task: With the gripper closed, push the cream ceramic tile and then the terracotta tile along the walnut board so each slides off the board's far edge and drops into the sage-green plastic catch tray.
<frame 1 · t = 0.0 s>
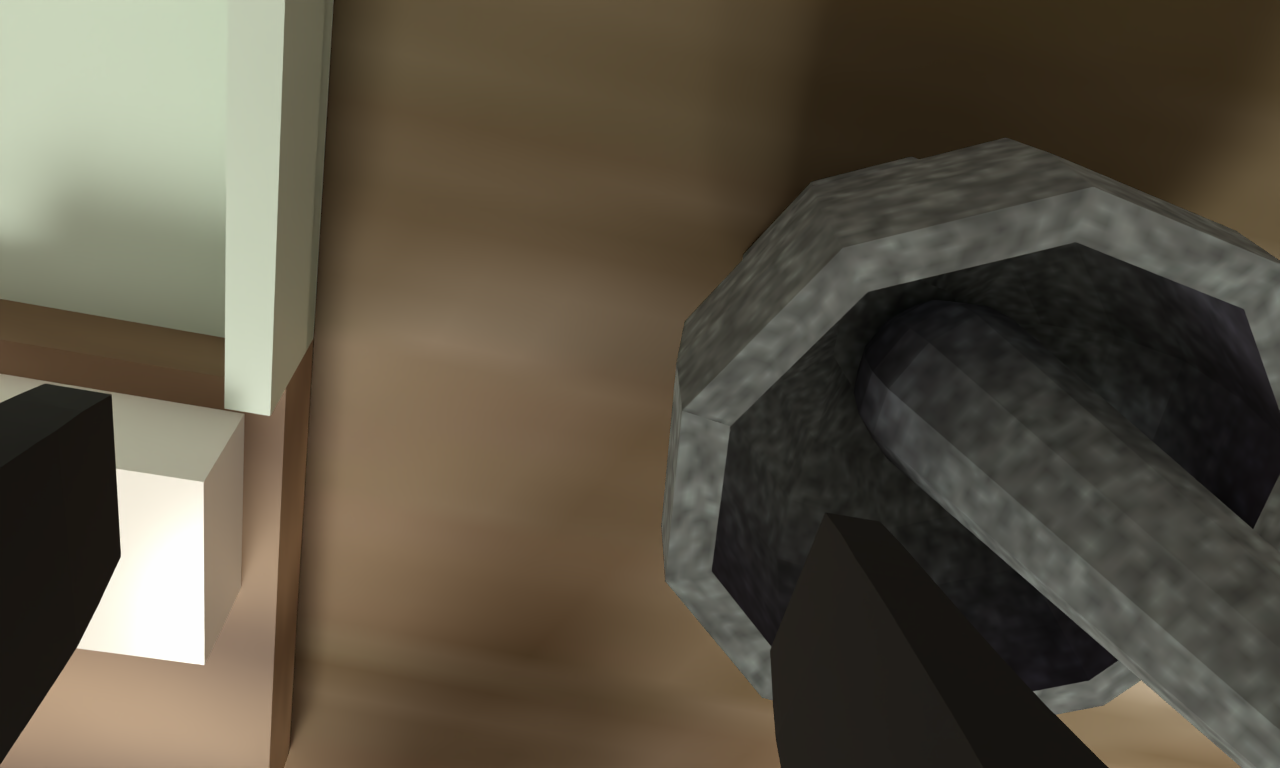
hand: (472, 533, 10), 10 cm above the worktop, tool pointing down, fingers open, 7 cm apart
mortar and pestle: (907, 311, 21), on the worktop
cream tile: (126, 487, 20), point 2 cm above the worktop, touching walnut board
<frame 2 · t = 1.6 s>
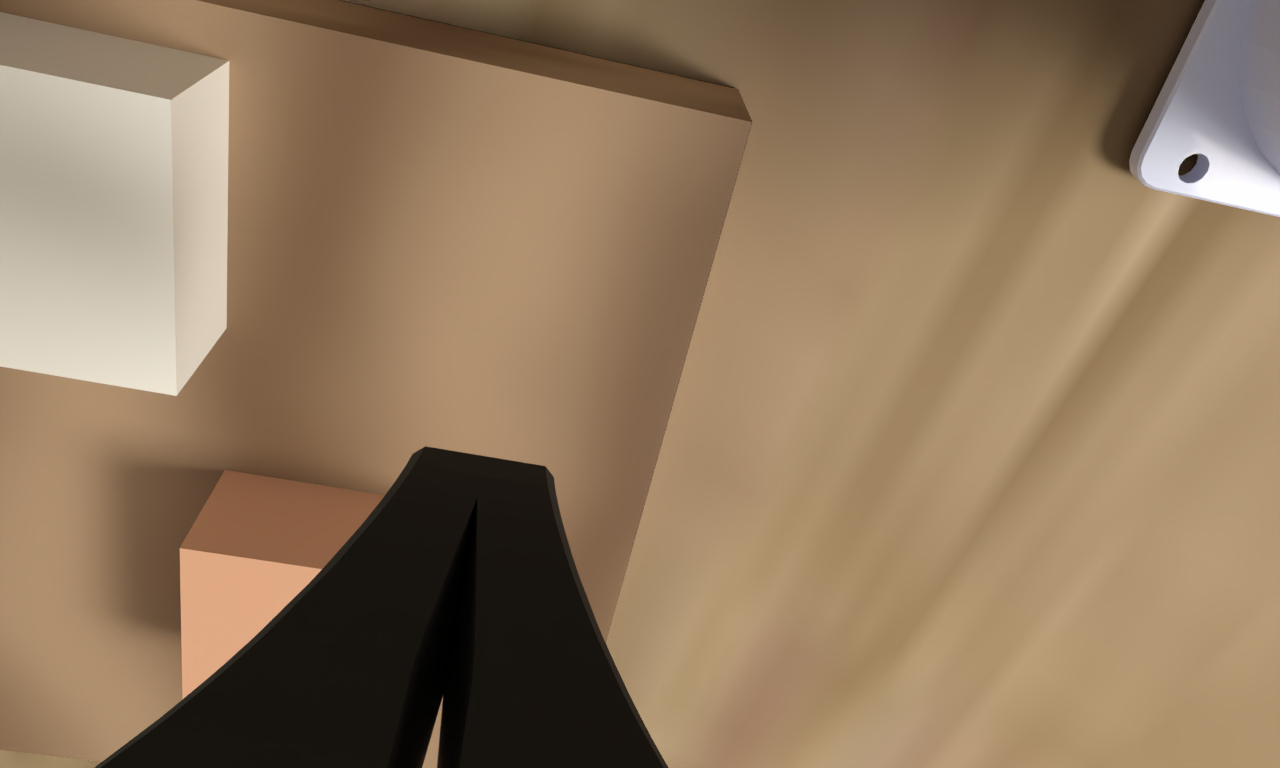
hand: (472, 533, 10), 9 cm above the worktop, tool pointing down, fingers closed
cream tile: (77, 175, 15), point 2 cm above the worktop, touching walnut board
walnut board: (321, 432, 20), on the worktop
terracotta tile: (340, 579, 19), point 2 cm above the worktop, touching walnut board
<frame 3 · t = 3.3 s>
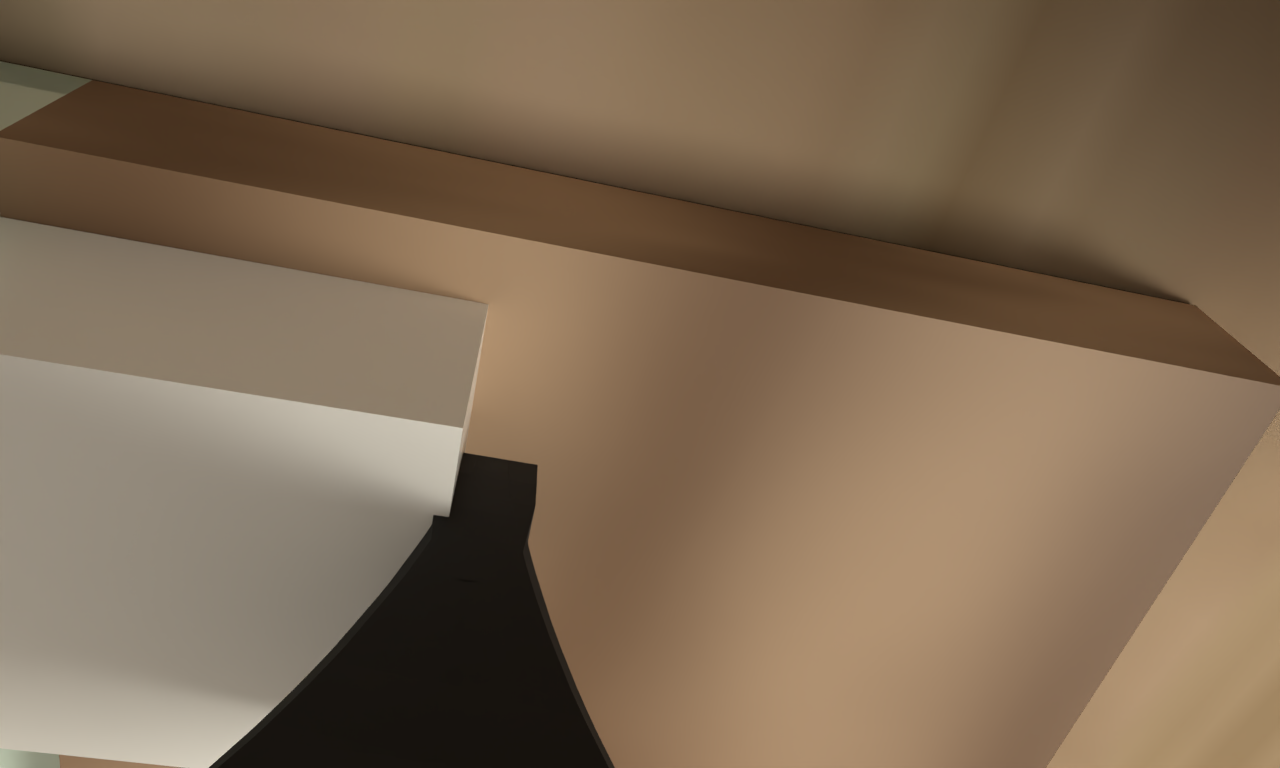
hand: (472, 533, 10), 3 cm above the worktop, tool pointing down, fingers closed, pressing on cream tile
cream tile: (247, 453, 10), point 2 cm above the worktop, touching catch tray, gripper, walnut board
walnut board: (557, 706, 15), on the worktop
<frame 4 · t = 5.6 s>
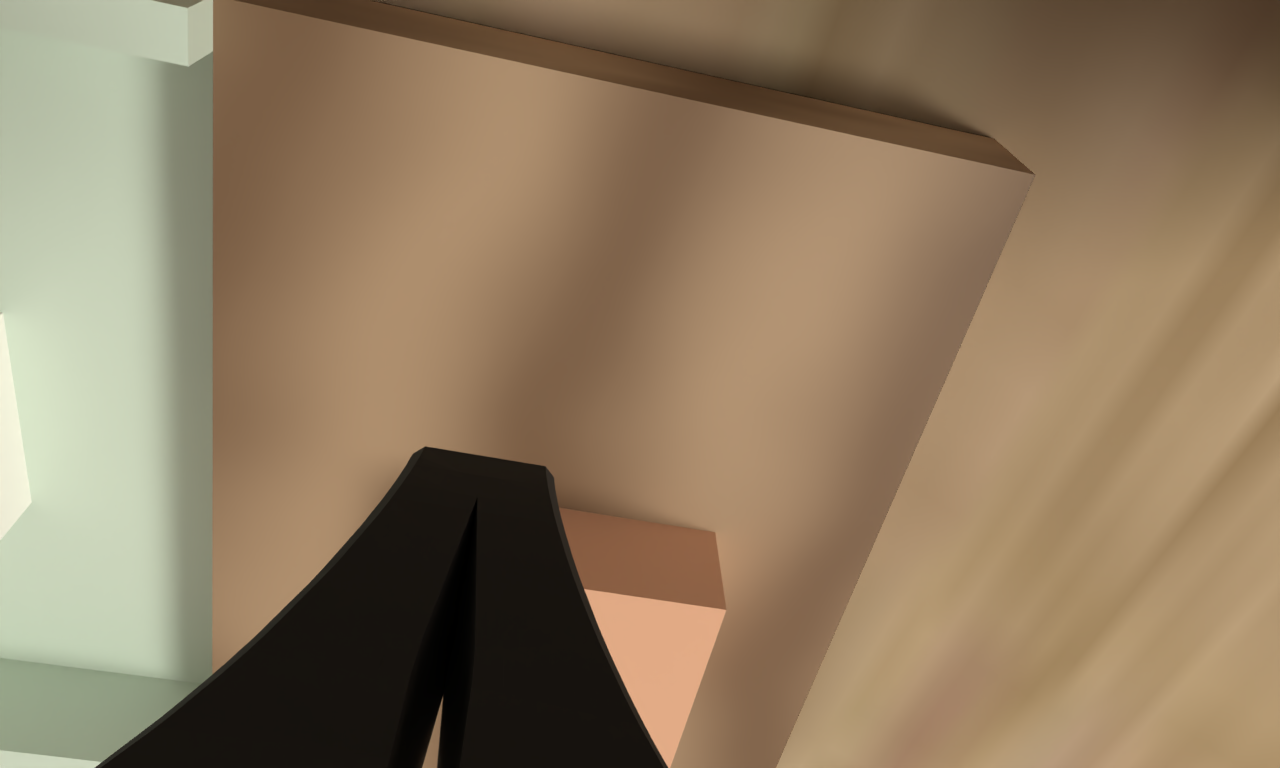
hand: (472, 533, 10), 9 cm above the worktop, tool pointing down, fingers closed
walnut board: (557, 458, 21), on the worktop
terracotta tile: (583, 598, 20), point 2 cm above the worktop, touching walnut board
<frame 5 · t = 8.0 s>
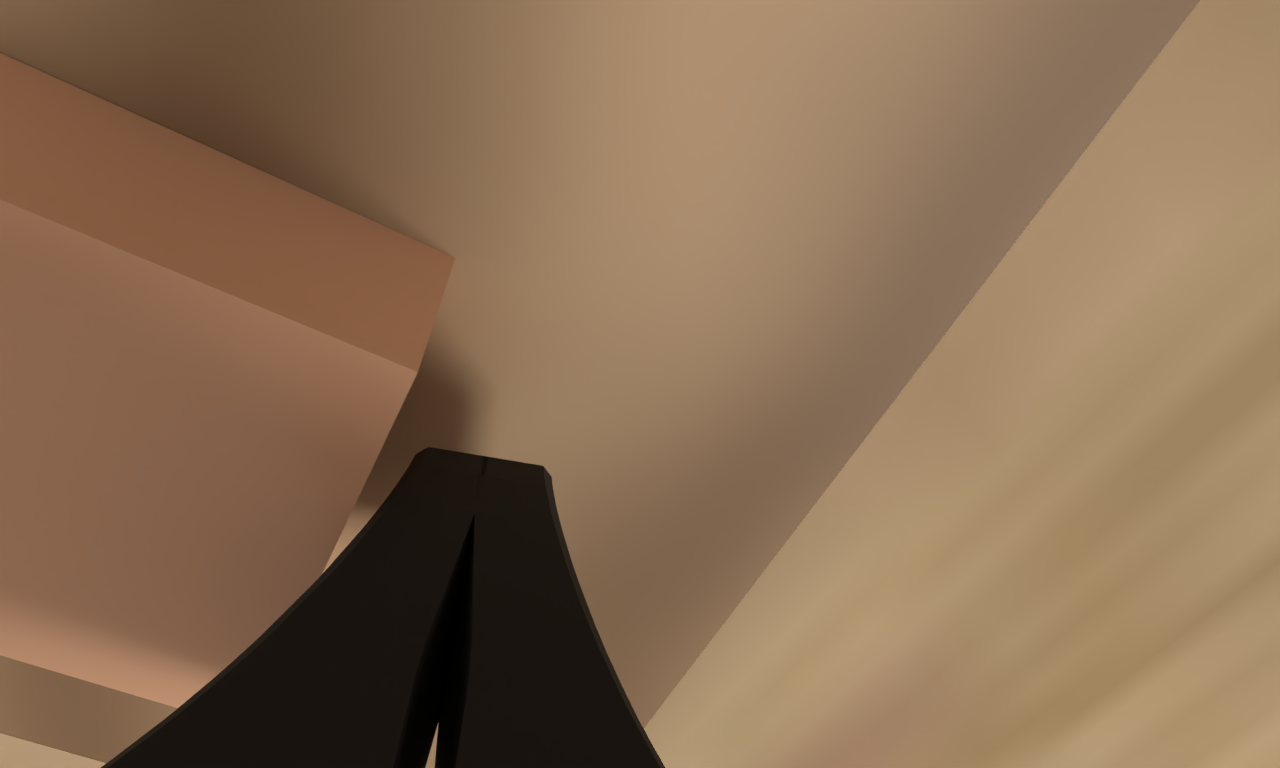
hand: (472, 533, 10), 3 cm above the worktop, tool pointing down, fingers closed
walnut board: (321, 144, 11), on the worktop
terracotta tile: (160, 348, 10), point 2 cm above the worktop, touching gripper, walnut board
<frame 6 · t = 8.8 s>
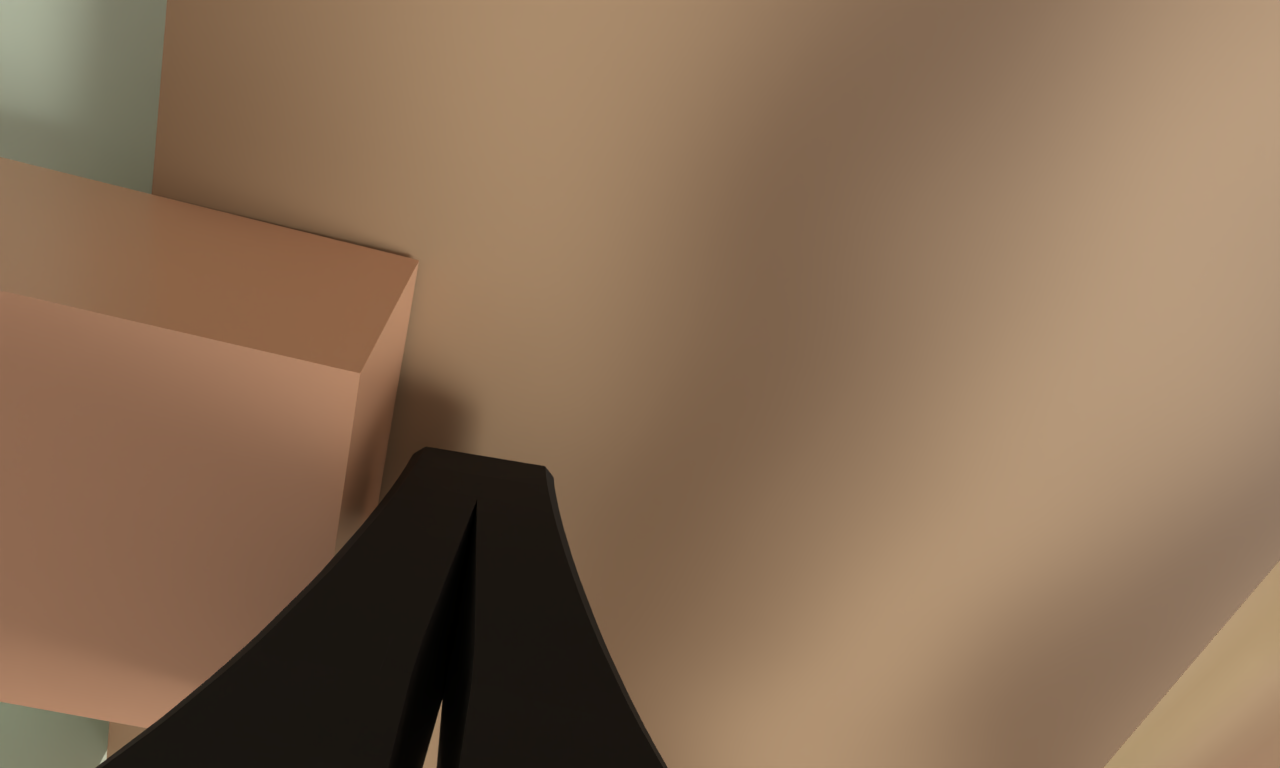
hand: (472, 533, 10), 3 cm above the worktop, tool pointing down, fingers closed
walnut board: (762, 314, 12), on the worktop
terracotta tile: (171, 401, 10), point 2 cm above the worktop, touching gripper, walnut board
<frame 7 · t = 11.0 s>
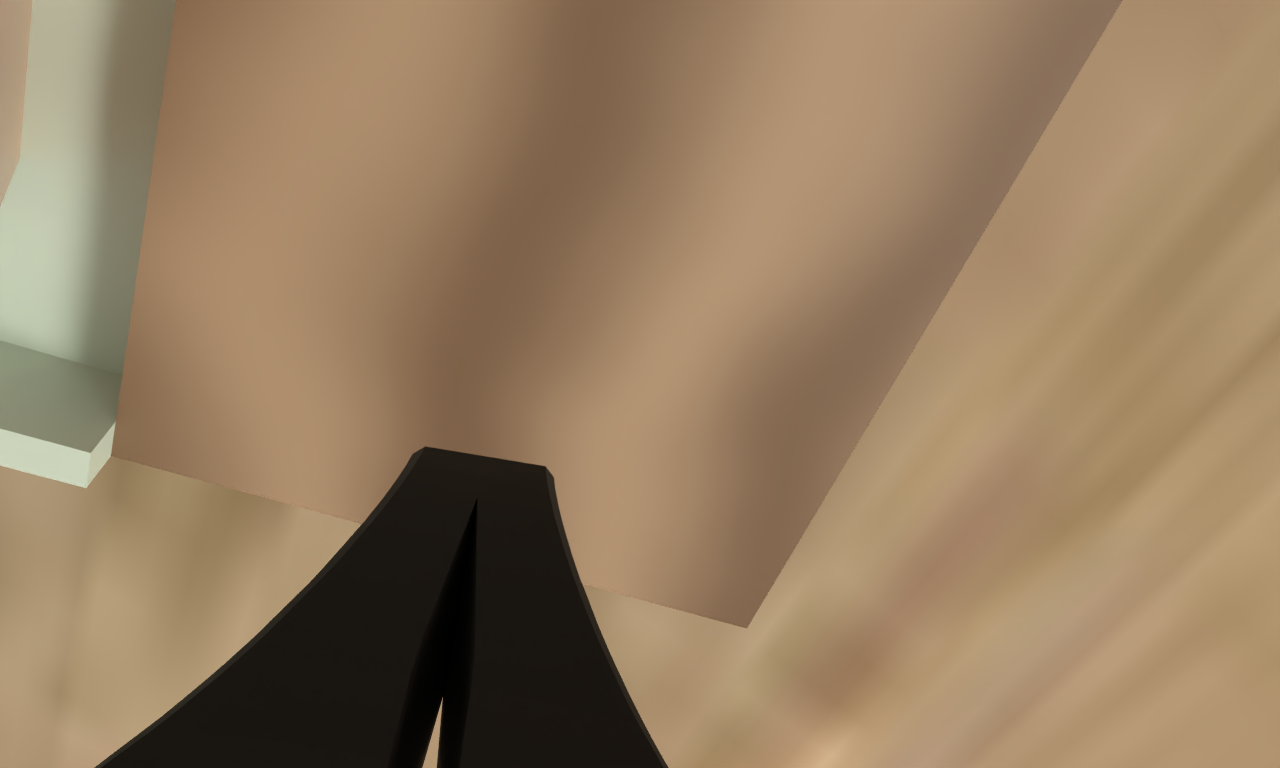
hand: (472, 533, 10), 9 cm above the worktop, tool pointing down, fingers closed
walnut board: (597, 123, 17), on the worktop
terracotta tile: (5, 78, 14), point 3 cm above the worktop, tilted 72°, touching catch tray, cream tile
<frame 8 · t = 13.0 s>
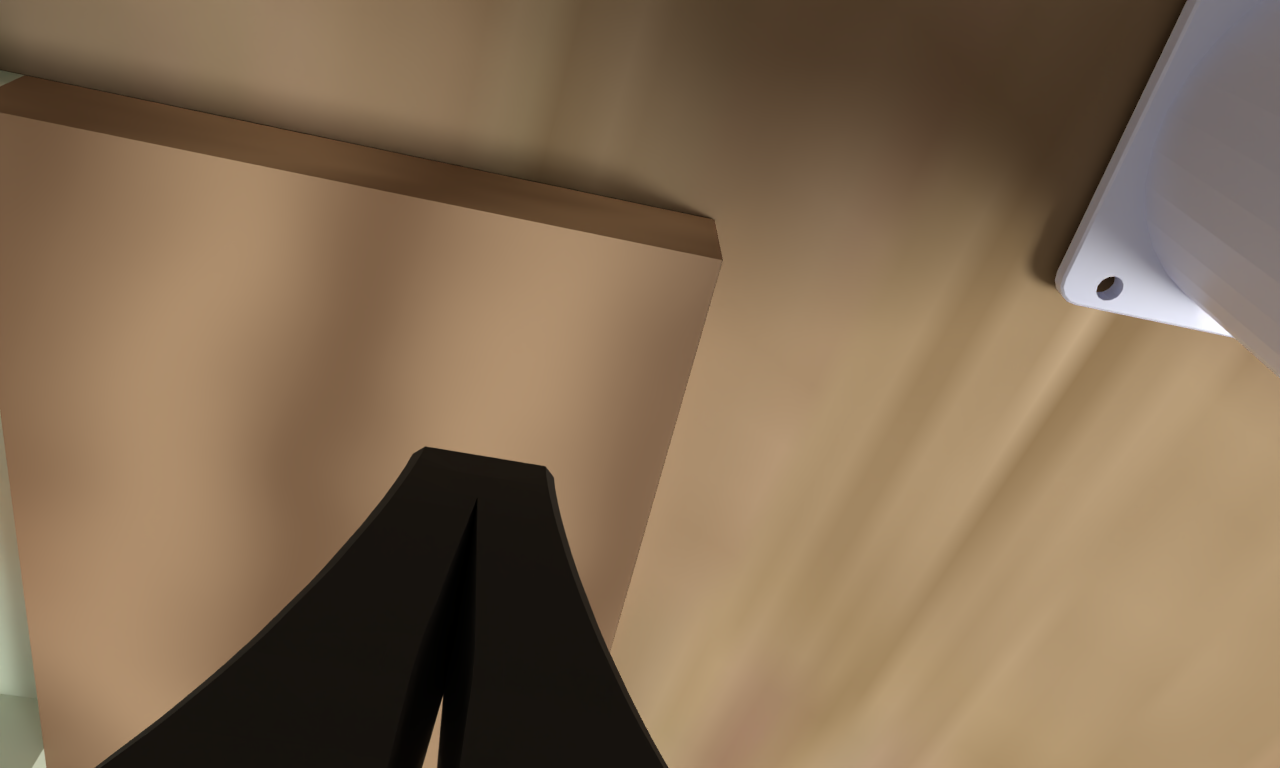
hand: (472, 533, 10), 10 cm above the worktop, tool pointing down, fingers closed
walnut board: (351, 499, 23), on the worktop
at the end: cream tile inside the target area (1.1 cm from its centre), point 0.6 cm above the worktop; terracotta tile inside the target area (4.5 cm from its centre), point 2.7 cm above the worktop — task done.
